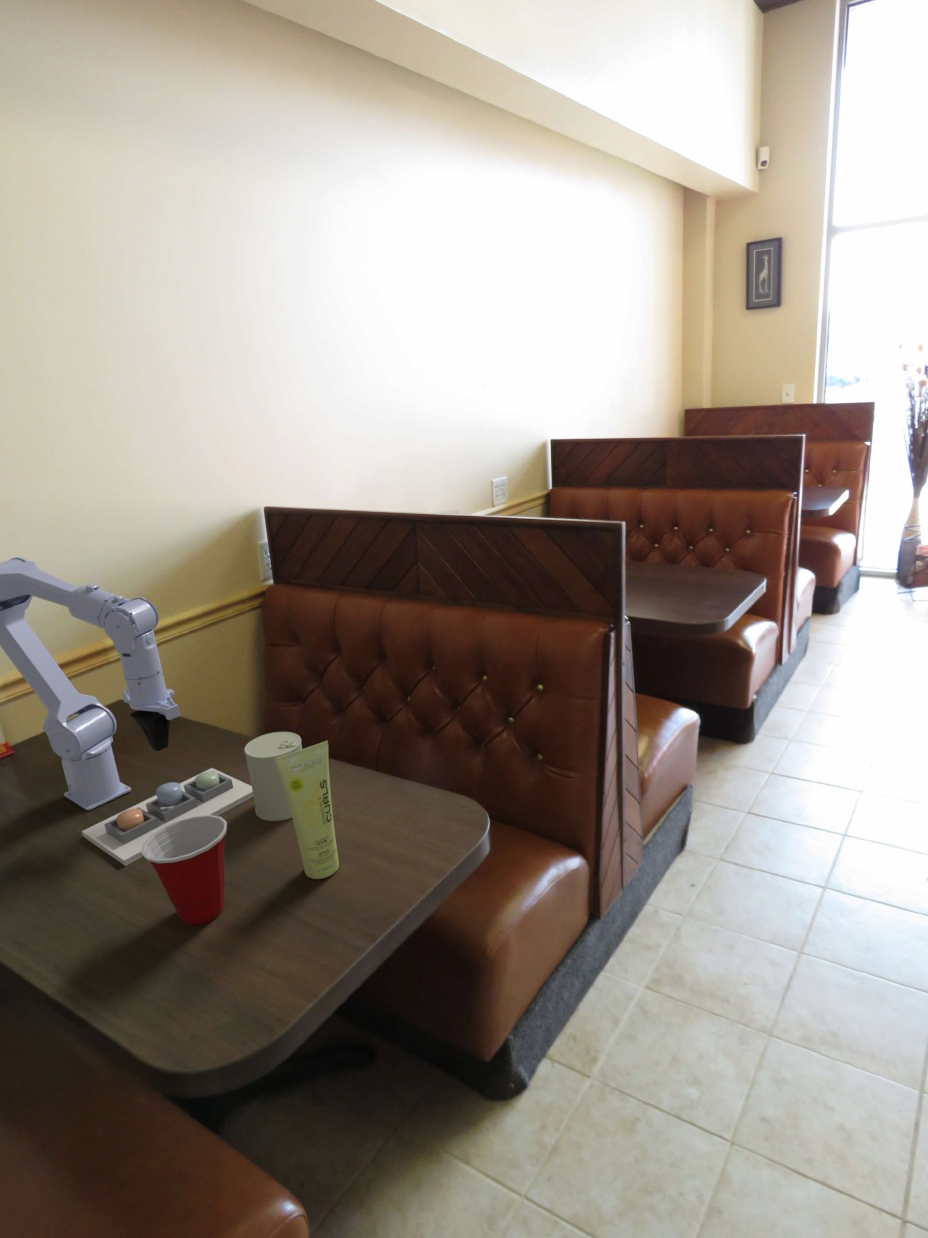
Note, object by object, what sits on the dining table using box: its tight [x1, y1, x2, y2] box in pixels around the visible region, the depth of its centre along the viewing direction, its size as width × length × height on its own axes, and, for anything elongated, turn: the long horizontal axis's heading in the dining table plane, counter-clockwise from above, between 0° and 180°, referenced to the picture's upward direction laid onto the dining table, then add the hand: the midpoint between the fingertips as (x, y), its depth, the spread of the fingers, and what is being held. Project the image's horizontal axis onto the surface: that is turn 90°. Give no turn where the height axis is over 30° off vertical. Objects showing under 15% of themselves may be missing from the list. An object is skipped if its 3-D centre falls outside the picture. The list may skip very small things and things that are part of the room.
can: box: [243, 731, 303, 822], centre depth 123 cm, size 9×9×12 cm
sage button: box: [195, 771, 220, 792], centre depth 129 cm, size 4×4×2 cm
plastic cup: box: [141, 815, 228, 926], centre depth 99 cm, size 11×11×12 cm
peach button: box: [116, 808, 144, 832], centre depth 119 cm, size 4×4×2 cm
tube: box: [275, 740, 340, 880], centre depth 104 cm, size 6×5×20 cm
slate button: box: [155, 781, 183, 807], centre depth 124 cm, size 4×4×2 cm
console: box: [81, 767, 254, 867], centre depth 125 cm, size 14×24×3 cm, turn 141°
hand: (160, 748), depth 126 cm, fingers closed
